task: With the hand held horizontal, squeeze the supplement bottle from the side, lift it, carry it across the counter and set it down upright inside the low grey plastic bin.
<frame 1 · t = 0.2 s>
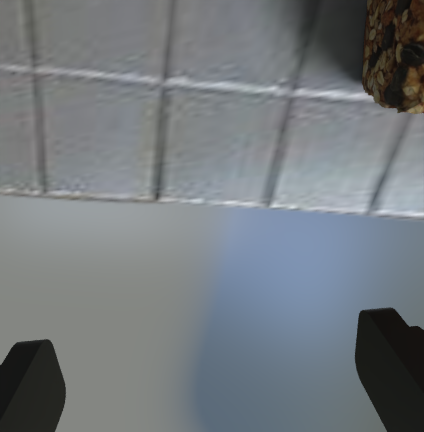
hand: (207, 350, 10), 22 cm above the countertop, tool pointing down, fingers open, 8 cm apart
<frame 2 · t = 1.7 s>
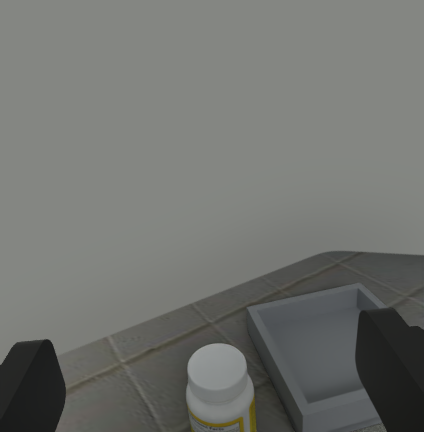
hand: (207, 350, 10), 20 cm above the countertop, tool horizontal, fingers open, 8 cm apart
bin: (335, 362, 34), on the countertop
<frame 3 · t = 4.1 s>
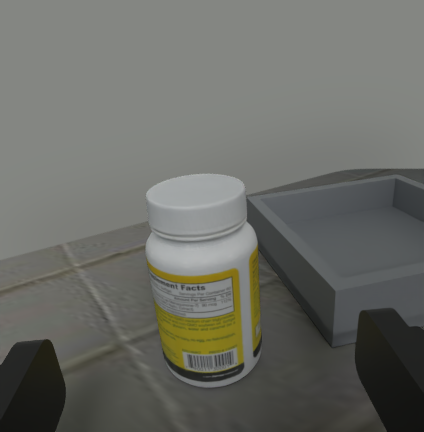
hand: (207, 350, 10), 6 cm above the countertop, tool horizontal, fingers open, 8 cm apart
bin: (371, 259, 24), on the countertop
supplement bottle: (212, 354, 18), on the countertop
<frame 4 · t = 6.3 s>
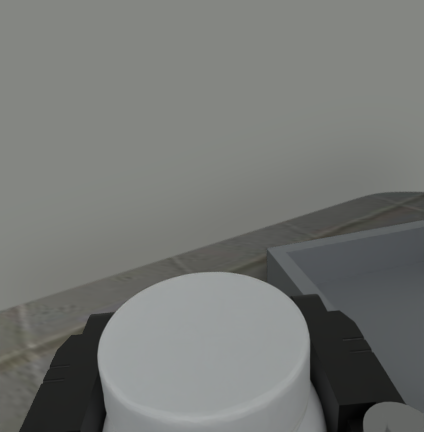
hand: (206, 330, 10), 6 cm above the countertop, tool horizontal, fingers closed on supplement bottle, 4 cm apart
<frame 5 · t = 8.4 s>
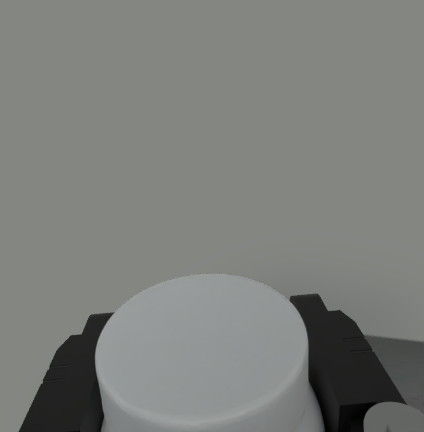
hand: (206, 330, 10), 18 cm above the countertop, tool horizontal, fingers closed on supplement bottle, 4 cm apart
when the fingers open (8 cm above the countertop, at t = 10.9 s): supplement bottle drops 1 cm, resting on bin.
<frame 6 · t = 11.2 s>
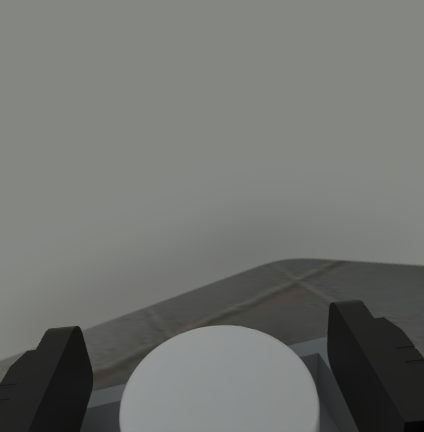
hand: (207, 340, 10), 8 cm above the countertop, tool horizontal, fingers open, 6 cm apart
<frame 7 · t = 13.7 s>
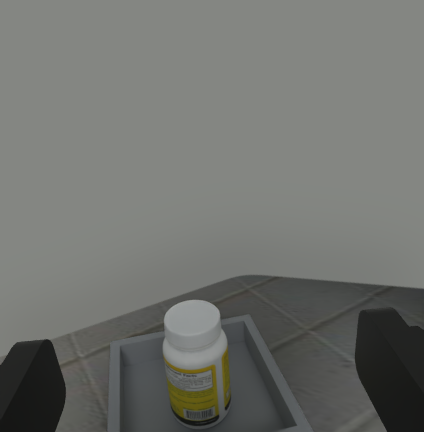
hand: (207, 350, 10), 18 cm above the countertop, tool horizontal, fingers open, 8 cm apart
bin: (198, 410, 29), on the countertop
supplement bottle: (201, 406, 29), point 1 cm above the countertop, touching bin
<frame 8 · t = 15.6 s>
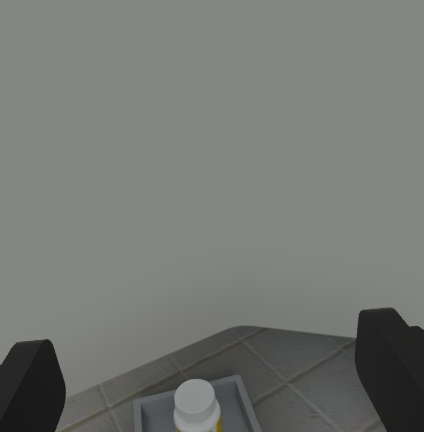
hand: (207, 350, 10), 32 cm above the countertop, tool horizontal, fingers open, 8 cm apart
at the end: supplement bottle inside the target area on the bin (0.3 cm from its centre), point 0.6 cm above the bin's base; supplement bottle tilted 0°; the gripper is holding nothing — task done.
